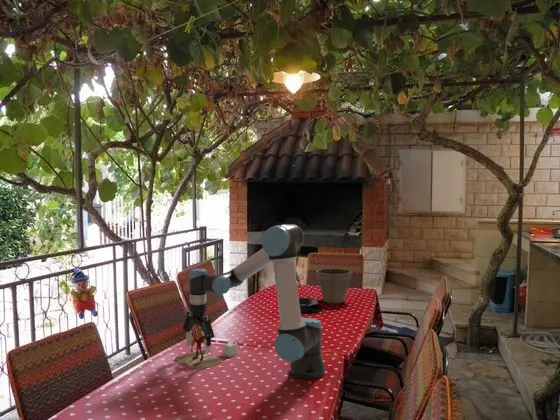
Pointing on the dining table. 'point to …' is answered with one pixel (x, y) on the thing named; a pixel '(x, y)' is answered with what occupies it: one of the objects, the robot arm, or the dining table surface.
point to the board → (198, 360)
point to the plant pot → (334, 284)
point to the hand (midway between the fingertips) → (198, 349)
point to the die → (230, 349)
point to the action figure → (198, 342)
